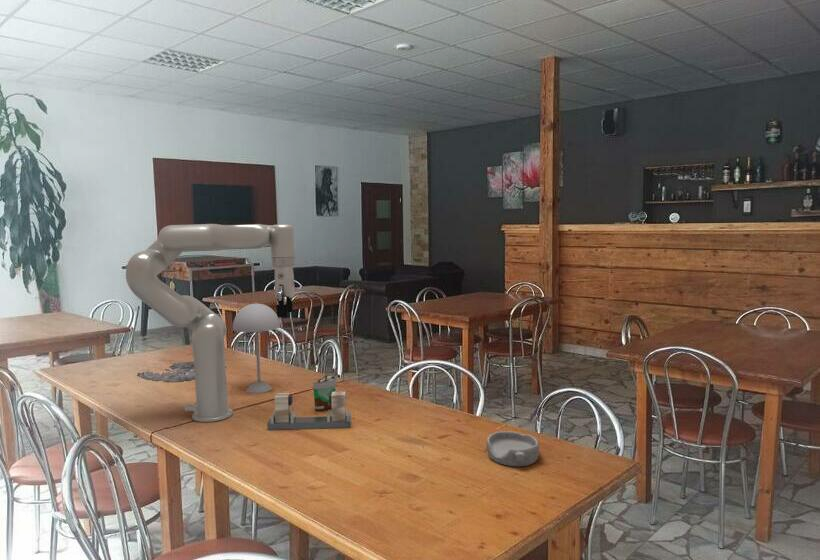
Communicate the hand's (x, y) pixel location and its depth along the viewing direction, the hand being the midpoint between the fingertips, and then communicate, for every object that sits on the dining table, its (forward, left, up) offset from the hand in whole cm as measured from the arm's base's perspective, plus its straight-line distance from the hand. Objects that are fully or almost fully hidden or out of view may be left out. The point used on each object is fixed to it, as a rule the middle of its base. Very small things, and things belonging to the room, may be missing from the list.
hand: (285, 314), depth 195 cm
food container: (+13, +2, -32) cm, 35 cm away
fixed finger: (+18, -16, -30) cm, 38 cm away
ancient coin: (-54, +56, -33) cm, 85 cm away
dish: (+66, -44, -33) cm, 86 cm away
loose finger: (+1, -16, -30) cm, 34 cm away
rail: (+9, -16, -32) cm, 37 cm away
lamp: (-15, +25, -32) cm, 44 cm away
